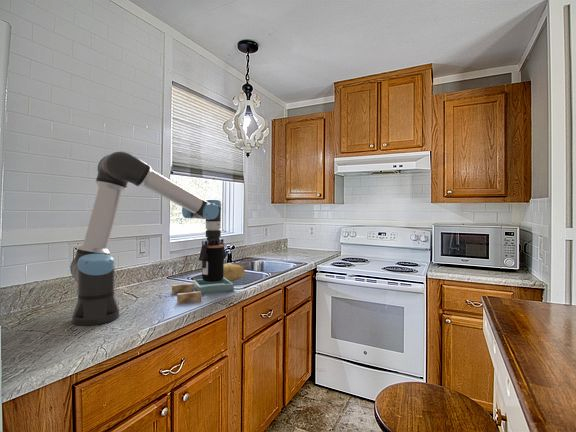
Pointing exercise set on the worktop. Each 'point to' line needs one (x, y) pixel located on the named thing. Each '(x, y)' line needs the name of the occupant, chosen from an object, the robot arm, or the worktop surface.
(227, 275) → the potato
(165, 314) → the worktop surface
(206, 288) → the bin
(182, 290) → the oak cradle
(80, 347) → the worktop surface
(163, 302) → the worktop surface
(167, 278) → the worktop surface
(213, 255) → the coffee jar
